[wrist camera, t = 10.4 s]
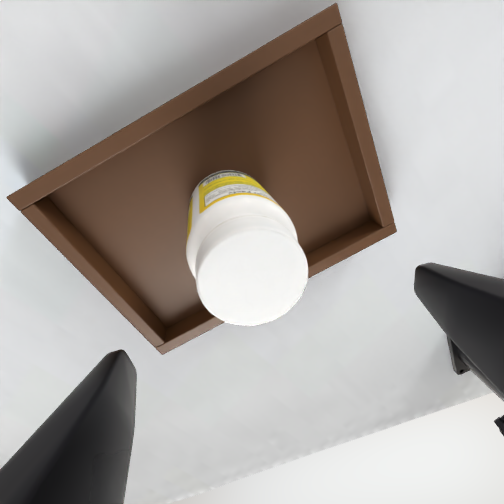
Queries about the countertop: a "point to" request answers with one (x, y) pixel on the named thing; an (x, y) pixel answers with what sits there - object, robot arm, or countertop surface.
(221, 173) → the supplement bottle
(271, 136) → the tray
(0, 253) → the countertop surface
